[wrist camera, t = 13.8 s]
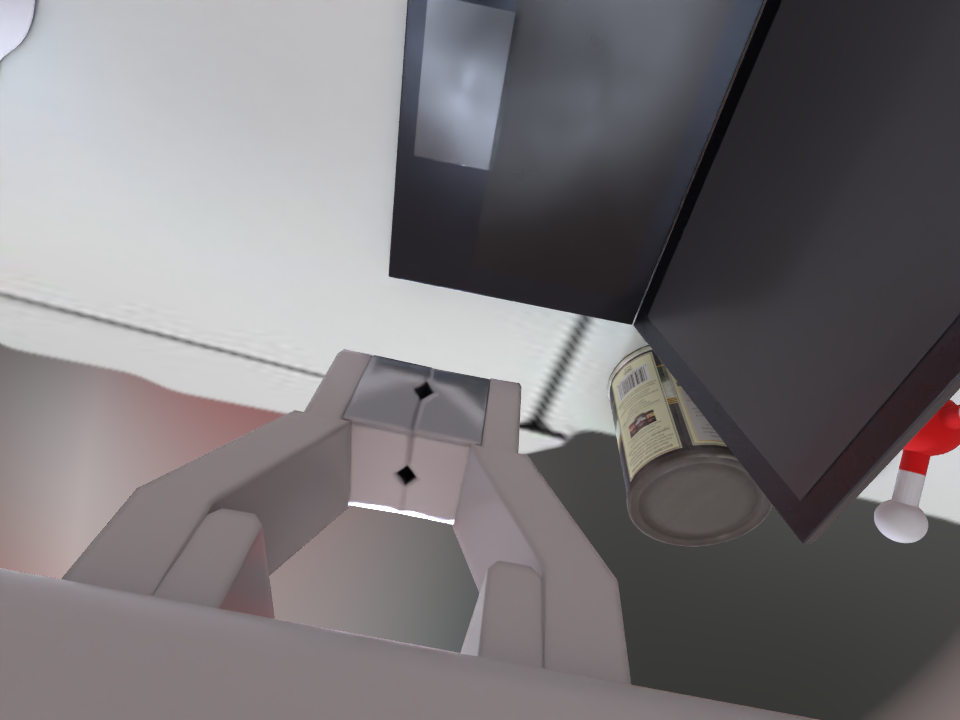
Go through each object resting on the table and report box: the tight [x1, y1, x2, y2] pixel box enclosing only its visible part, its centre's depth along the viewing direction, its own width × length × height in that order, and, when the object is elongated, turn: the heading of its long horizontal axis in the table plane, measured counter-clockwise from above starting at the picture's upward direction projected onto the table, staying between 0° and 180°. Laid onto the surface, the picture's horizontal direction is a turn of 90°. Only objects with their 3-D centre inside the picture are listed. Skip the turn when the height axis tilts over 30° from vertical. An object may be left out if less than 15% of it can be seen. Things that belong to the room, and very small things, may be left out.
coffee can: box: [608, 346, 773, 546], centre depth 43 cm, size 10×10×14 cm
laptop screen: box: [634, 0, 960, 544], centre depth 26 cm, size 21×30×1 cm
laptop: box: [389, 0, 764, 324], centre depth 35 cm, size 21×30×2 cm
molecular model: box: [874, 400, 960, 543], centre depth 43 cm, size 18×6×10 cm, turn 170°
